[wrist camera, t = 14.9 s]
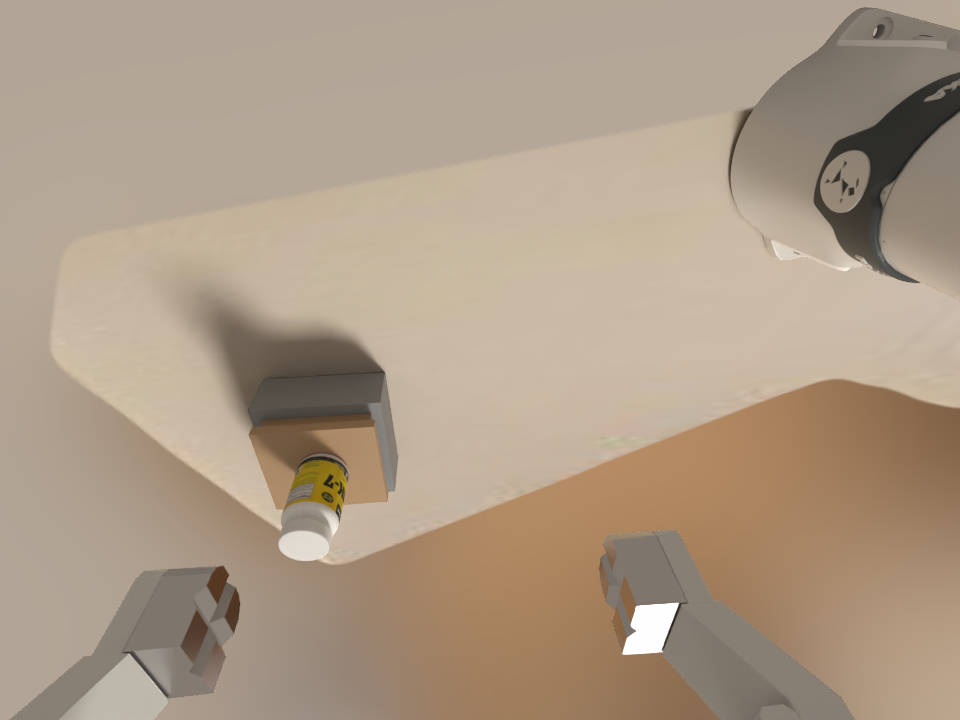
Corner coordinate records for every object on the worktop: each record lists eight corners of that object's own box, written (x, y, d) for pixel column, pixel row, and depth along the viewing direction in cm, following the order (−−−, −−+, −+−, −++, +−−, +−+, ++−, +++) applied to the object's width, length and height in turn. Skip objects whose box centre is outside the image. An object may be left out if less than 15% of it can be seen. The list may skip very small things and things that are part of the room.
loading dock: (385, 372, 48) (377, 417, 42) (397, 457, 55) (393, 507, 49) (264, 379, 48) (239, 426, 42) (292, 464, 54) (274, 516, 48)
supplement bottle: (358, 479, 46) (344, 556, 39) (313, 492, 47) (292, 570, 40) (335, 445, 44) (316, 521, 37) (288, 459, 44) (260, 537, 37)
